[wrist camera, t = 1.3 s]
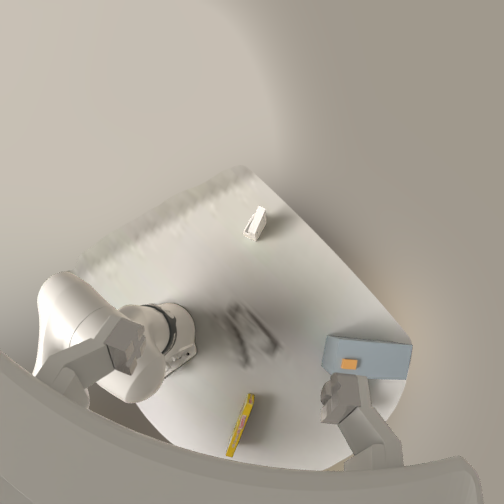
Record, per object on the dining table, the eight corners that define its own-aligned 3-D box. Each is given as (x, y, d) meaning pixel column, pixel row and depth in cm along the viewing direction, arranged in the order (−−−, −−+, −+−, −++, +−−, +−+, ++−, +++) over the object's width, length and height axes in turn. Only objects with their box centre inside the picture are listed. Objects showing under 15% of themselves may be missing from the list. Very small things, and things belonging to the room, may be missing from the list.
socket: (384, 370, 61) (408, 380, 47) (321, 365, 63) (333, 377, 49) (390, 341, 63) (415, 345, 49) (327, 335, 65) (340, 339, 51)
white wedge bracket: (274, 206, 71) (265, 209, 63) (259, 239, 75) (249, 246, 67) (261, 200, 72) (251, 202, 64) (247, 233, 75) (236, 239, 67)
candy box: (236, 444, 59) (232, 458, 51) (228, 442, 60) (223, 455, 52) (255, 395, 63) (253, 405, 55) (247, 392, 63) (244, 402, 55)
